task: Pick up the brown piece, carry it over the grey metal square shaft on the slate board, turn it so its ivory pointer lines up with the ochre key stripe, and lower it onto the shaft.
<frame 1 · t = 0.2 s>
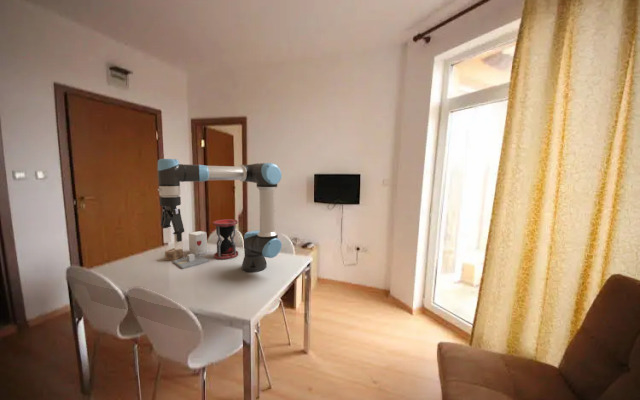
hand: (172, 245, 104), 28 cm above the table, fingers open, 13 cm apart
brown piece: (174, 258, 165), on the table
hourglass: (226, 255, 173), on the table
supplement box: (198, 252, 179), on the table
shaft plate: (191, 262, 159), on the table
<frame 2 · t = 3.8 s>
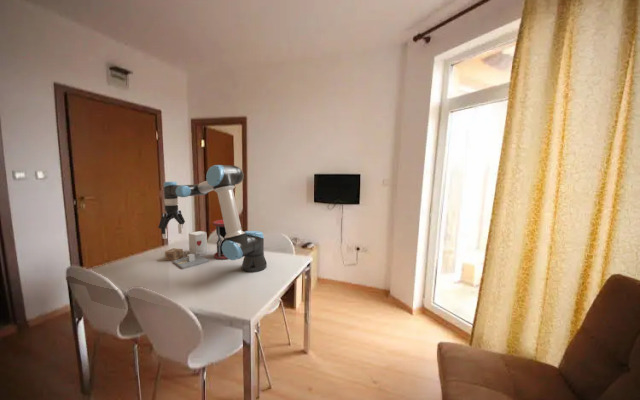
hand: (173, 235, 164), 16 cm above the table, fingers open, 13 cm apart
nothing on the table moved.
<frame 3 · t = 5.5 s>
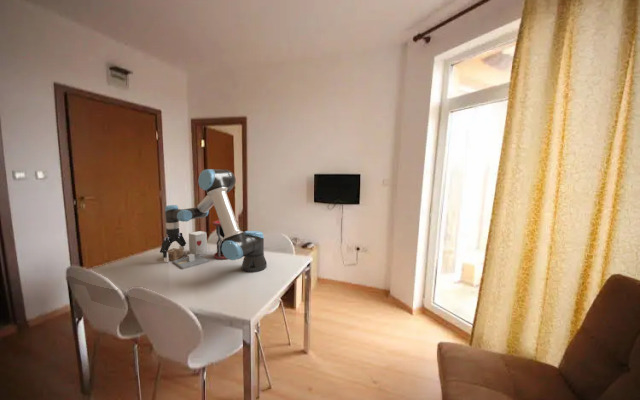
hand: (174, 258, 165), 0 cm above the table, fingers open, 13 cm apart
nothing on the table moved.
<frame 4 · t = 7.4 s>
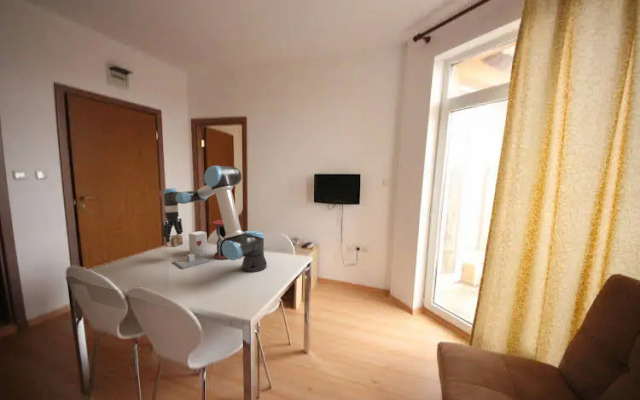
hand: (174, 244, 164), 10 cm above the table, fingers closed on brown piece, 7 cm apart
brown piece: (174, 245, 164), point 10 cm above the table, touching gripper
everything else where it was.
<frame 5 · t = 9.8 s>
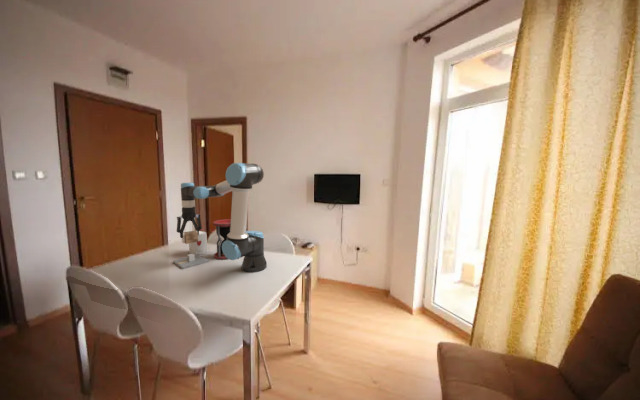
hand: (190, 241, 158), 14 cm above the table, fingers closed on brown piece, 7 cm apart
brown piece: (190, 241, 158), point 14 cm above the table, touching gripper
everything else where it was.
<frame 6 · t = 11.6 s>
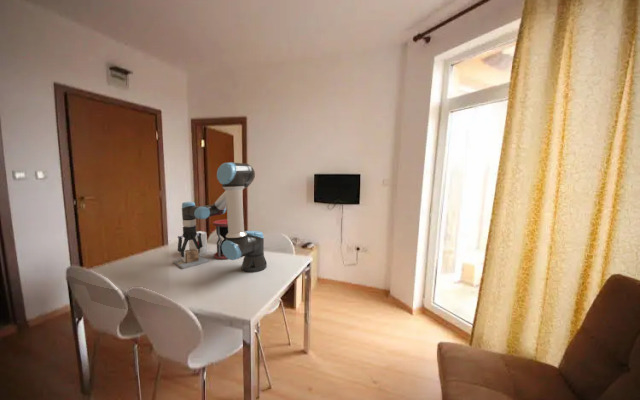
hand: (190, 259, 159), 2 cm above the table, fingers closed on brown piece, 7 cm apart
brown piece: (190, 260, 159), point 1 cm above the table, touching gripper, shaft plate
everything else where it was.
when the fingers open (2 cm above the table, at t = 12.5 s): brown piece stays where it is, resting on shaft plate.
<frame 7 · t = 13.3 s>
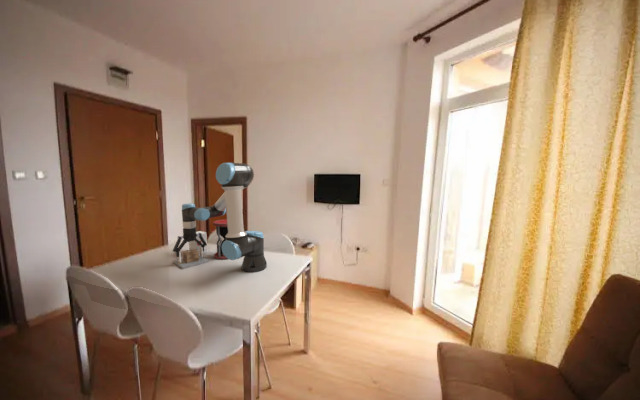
hand: (191, 259, 159), 2 cm above the table, fingers open, 13 cm apart
brown piece: (190, 260, 159), point 1 cm above the table, touching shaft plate
everything else where it was.
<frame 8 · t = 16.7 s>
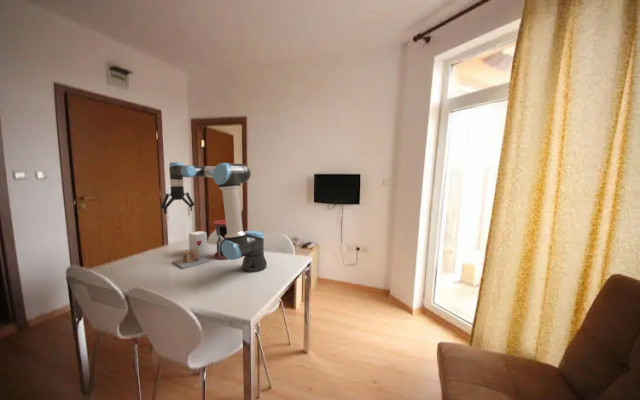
hand: (178, 217, 163), 29 cm above the table, fingers open, 13 cm apart
nothing on the table moved.
at the end: brown piece 0.1 cm off-centre on the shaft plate, point 1.3 cm above the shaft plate's base; brown piece tilted 2°; the gripper is holding nothing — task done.
